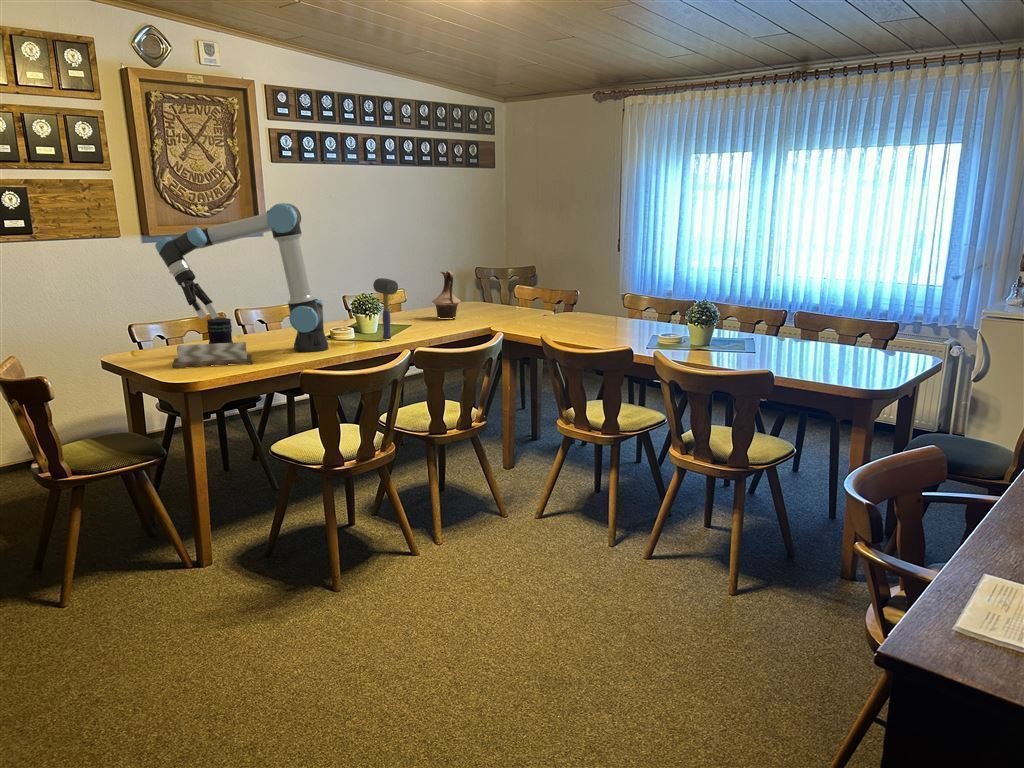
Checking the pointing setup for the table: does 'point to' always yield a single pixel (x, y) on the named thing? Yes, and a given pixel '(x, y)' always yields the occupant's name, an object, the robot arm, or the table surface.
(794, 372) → the table surface
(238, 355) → the ridge stand
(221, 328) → the storage jar
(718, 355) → the table surface
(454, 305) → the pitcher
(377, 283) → the rubber mallet
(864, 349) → the table surface
